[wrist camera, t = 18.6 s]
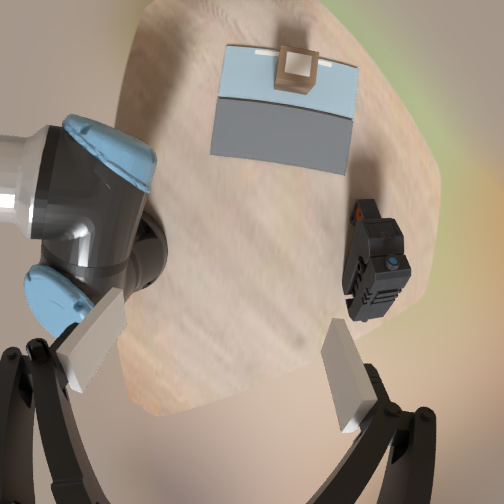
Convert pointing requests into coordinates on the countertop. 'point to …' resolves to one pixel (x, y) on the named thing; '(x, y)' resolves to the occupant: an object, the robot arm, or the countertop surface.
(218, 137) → the mat
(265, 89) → the mat
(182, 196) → the countertop surface
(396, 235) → the tool
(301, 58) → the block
